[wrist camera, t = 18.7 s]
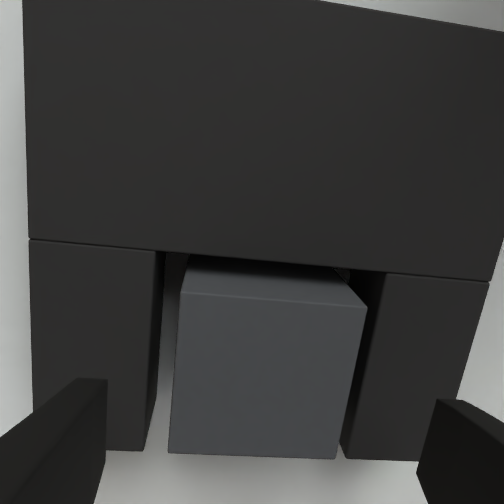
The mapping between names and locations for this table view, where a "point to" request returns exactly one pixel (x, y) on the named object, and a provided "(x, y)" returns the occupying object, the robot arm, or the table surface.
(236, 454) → the gray block
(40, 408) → the robot arm
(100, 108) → the black u-shaped block
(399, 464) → the table surface
